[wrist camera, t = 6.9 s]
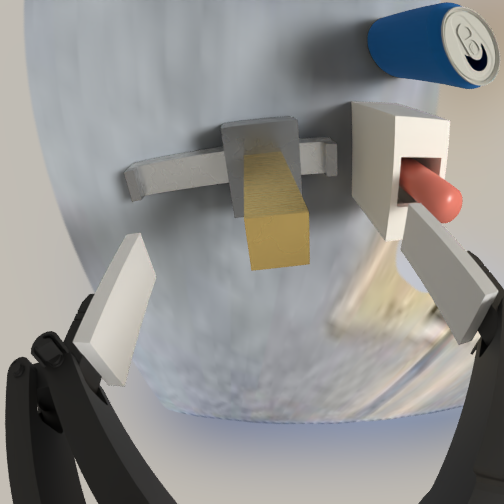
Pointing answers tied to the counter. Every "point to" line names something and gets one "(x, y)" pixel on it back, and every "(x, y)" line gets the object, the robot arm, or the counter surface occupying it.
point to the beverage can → (436, 46)
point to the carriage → (268, 189)
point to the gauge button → (430, 190)
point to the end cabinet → (392, 158)
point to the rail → (215, 168)
